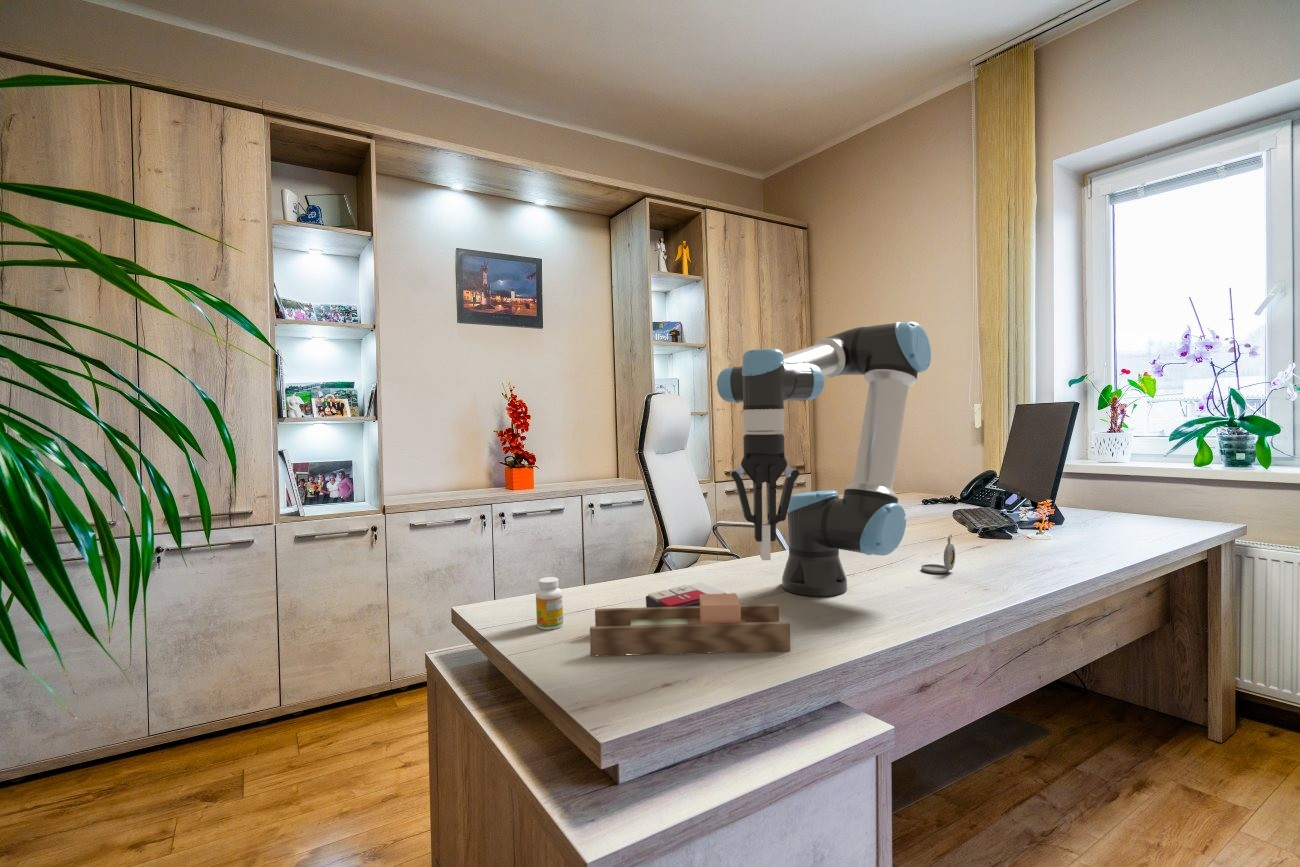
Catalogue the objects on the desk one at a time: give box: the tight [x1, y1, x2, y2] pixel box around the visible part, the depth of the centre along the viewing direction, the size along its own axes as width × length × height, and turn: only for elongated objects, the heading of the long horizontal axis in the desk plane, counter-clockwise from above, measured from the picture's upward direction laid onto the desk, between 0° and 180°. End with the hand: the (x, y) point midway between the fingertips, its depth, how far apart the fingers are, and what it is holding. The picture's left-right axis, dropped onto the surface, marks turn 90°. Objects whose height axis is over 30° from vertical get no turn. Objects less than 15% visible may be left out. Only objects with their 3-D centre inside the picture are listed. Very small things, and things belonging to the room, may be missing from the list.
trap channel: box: [589, 603, 791, 657], centre depth 121 cm, size 36×11×5 cm, turn 90°
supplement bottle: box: [535, 576, 564, 631], centre depth 132 cm, size 5×5×10 cm
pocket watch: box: [920, 534, 956, 574], centre depth 165 cm, size 8×8×10 cm
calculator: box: [645, 581, 727, 608], centre depth 141 cm, size 11×4×15 cm
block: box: [700, 592, 742, 624], centre depth 121 cm, size 7×7×5 cm
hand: (765, 558), depth 120 cm, fingers closed
